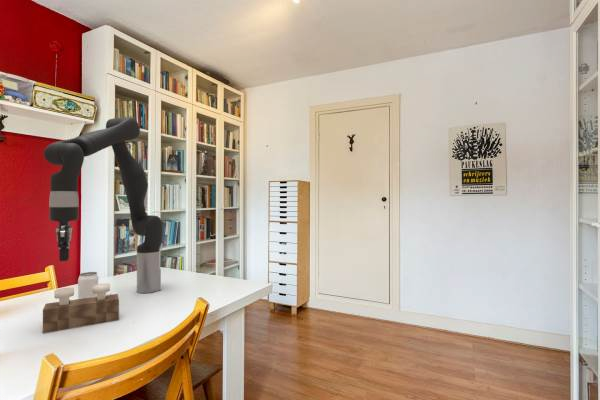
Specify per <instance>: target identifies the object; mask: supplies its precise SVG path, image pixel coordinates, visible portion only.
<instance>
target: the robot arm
mask: <svg viewBox="0 0 600 400" xmlns="http://www.w3.org/2000/svg"><path fill="white" fill-rule="evenodd" d="M140 133H141V128H140V124H139V122H138V121H137V120H136V119H135V118H133V117H129V116H124V117H113V118H109V119H107V121H106V123H105V128H102V129H97V130H93V131H89V132H86V133H84V134H80V135H78V136H76V137H73V138H68V139H64V140H60V141H55V142H52V143H50V144H48V145H47V146H45V149H44V151H43V157H44V160H45V161H46V162H48V163H49V164H50V165H54V166H61V169H60V170H59V171H58V172H54V173H52V174H51V175H50V180H49V181H50V187H49V188H50V193H49V197H48V198H49V199H48V200H49V201H48V202H49V204H48V205H49V207H48V208H49V209H48V210H49V213H48V214H49V215H48V217H49V221H50V222H57V223H58V226H56V228H55V232H56V241H57V248H58V250H59V257H58V258H59V259H58V260H59V262H67V261H69V258H70V246H71V240H72V231H73V225H70V222H73V221H74V222H75V221H78V220H79V217H80V215H79V214H80V213H79V212H80V211H79V210H80V209H79V207H80V205H79V204H80V203H79V201H80V198H79V190H78V189H79V186H78V184H79V182H78V180H79V177H80V173H81V171H82V167H83V164H84V161H85V160H84V158H85V157H86V158H87V157H90V156H91V155H94V154H97V153H98V152H100V151H102V150H104V149H107V148H109V147H111V149H112V151H113V154H114V156H115V160H116V163H117V165H118V170H119V173H120V177H121V182H122V185H123V188H124V191H125V194H126V200H127V204H128V207H129V213H130V215H129V216H130V220H131V227H132V230H133V232H134V234H135V235H137V236H141V237H144V241H143V242H142V243H141V244H138V245H137V246H136V292H137V293H139V294H150V293H154V292H157V291H161V290H162V287H161V286H162V285H161V284H162V281H161V280H162V276H161V275H162V269H161V267H160V266H161V246H162V243H163V222H162V219H161V217H159V216H158V215H150V214H149V215H148V214H147V211H146V208H145V207H146V206H145V198H146V196H147V192H148V189H149V188H148V187H149V186H148V185H149V184H148V179H147V174H146V172H145V169H144V167H143V166H142V165H141V164H140V163H139V162H138V160H137V159H135V157H134V156H133V155H132V154H131V151H130V150H129V148H128V146H127V142H128V141H133V140H136V139H137V138H138V137H139V136H140ZM126 141H127V142H126Z"/></svg>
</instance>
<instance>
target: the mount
mask: <svg viewBox="0 0 600 400" xmlns="http://www.w3.org/2000/svg"><path fill="white" fill-rule="evenodd" d="M119 320H120V299H119V293H114V294H106V299H104V300H97V297H90V298H83V299H78V298H77V299H69V304H68V305H61V306H59V301H55V302H46V303H45V304H44V307H43V308H42V334H45V333H52V332H58V331H62V330H68V329H74V328H81V327H85V326H92V325H96V324H103V323H108V322H114V321H115V322H116V321H119Z"/></svg>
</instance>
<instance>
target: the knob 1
mask: <svg viewBox="0 0 600 400" xmlns="http://www.w3.org/2000/svg"><path fill="white" fill-rule="evenodd" d="M74 295H75V288H74V287H62V288H58V289H55V290H54V299H58V300H59V301H58V302H59V306H61V305H68V304H69V300H70V297H74Z"/></svg>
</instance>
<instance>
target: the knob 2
mask: <svg viewBox="0 0 600 400" xmlns="http://www.w3.org/2000/svg"><path fill="white" fill-rule="evenodd" d="M110 291H111V283H108V282H107V283H106V282H105V283H104V282H103V283H98V284H96V285H93V286H92V293H97V300H104V299H106V295H107V294H106V293H107V292H110Z"/></svg>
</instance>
